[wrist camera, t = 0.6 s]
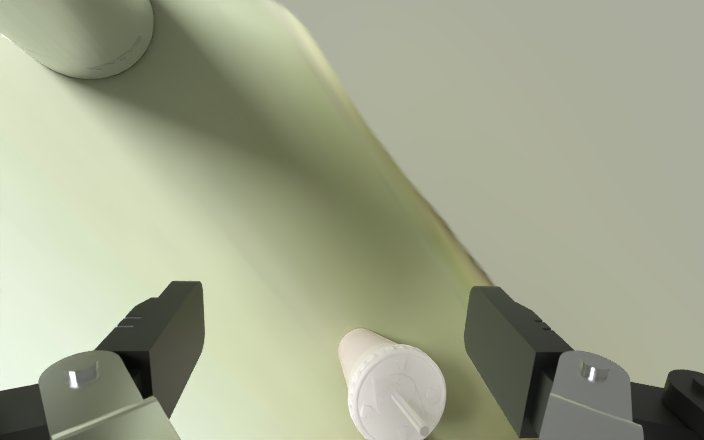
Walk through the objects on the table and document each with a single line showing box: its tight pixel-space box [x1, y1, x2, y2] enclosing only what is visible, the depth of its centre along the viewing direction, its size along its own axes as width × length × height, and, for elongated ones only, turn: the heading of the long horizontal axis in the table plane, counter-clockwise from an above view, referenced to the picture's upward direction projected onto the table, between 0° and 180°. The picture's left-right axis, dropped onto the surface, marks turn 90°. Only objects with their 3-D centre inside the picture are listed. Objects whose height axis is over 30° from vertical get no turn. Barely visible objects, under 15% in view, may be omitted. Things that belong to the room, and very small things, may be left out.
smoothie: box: [338, 328, 446, 440], centre depth 28 cm, size 6×6×14 cm
